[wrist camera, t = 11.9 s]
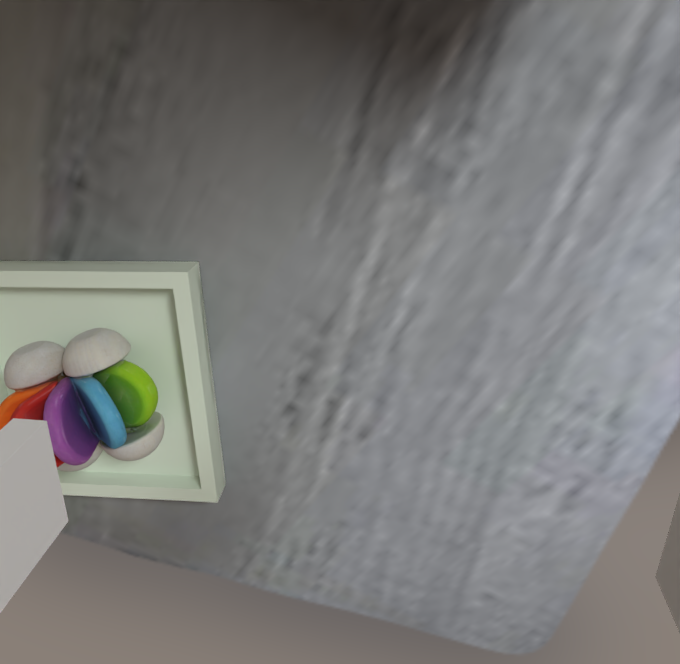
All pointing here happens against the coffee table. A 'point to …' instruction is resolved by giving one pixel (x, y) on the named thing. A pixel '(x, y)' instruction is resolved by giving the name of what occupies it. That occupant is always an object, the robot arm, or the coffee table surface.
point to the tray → (146, 352)
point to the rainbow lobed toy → (85, 398)
